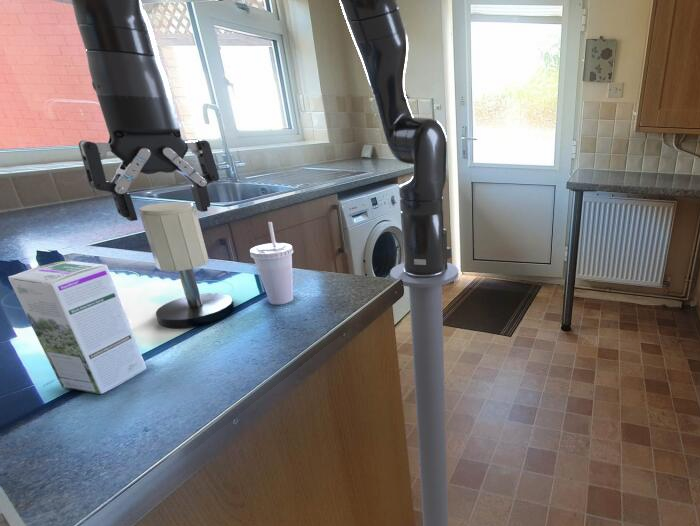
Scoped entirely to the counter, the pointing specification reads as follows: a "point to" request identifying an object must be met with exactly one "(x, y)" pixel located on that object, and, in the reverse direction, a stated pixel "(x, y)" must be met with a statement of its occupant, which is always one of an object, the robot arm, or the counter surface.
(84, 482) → the counter surface
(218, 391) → the counter surface
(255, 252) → the smoothie
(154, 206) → the cup
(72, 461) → the counter surface
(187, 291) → the towel holder
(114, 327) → the syrup box
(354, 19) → the robot arm
